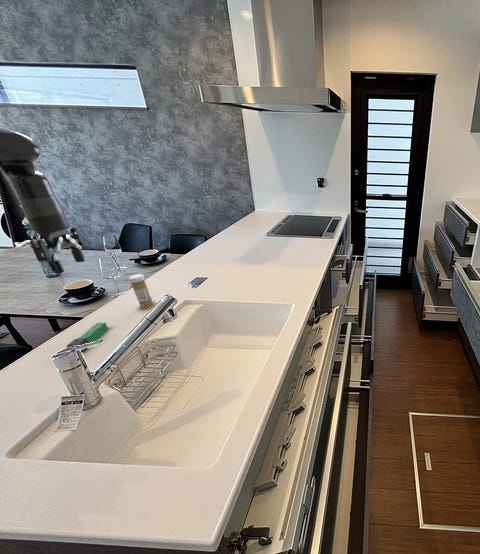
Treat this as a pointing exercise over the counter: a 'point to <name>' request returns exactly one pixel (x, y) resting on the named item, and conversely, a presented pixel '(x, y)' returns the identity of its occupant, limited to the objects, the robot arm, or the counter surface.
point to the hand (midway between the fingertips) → (70, 267)
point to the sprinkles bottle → (141, 291)
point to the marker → (90, 335)
